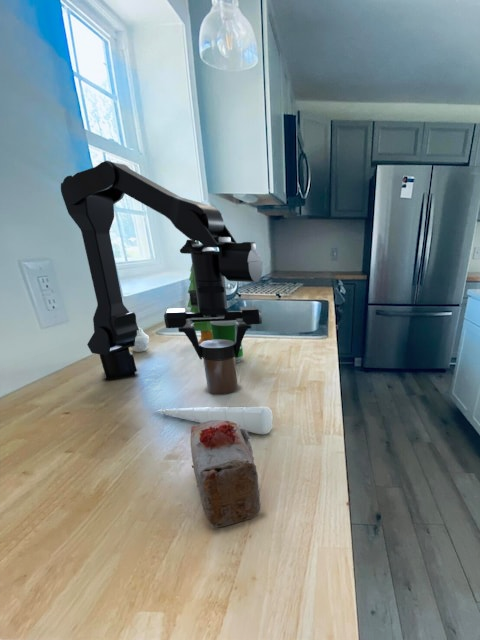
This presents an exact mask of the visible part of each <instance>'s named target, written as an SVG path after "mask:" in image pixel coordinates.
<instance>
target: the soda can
mask: <svg viewBox="0 0 480 640" xmlns="http://www.w3.org/2000/svg"><path fill="white" fill-rule="evenodd" d="M224 317H225V316H224ZM234 321H236V320H230V321H211V329H212V330H211V331H212V337H213V340H217V339H224V340H231V341H233V342H235V322H234ZM243 358H244V350H243V341H242V342H241V346H240V350H239V353H238V357H236V356H235V364H238V363H240V362H241V361H242V359H243Z"/></svg>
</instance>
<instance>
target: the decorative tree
mask: <svg viewBox="0 0 480 640" xmlns="http://www.w3.org/2000/svg"><path fill="white" fill-rule="evenodd" d="M196 243H198V244H200V242H199V241H196ZM188 280H189V281H190V282H189V287H188V290H187V294H189V290H196V287H195V280H194V273H193V266H192V265H191V267H190V275H189V278H188ZM186 307H187V308H190V311H189V313H193V312H199V310H198V307H192V306H191V301H190V298H188V303H187V306H186ZM193 323H194V327H195V331H196V332H200V339H199V340H198V342H199V345H200V343H202V342H204V341H208V340H213V337H212V329H211V321H207V322H193Z"/></svg>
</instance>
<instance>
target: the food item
mask: <svg viewBox="0 0 480 640" xmlns="http://www.w3.org/2000/svg"><path fill="white" fill-rule="evenodd" d="M239 426H240V425H239ZM250 439H251V437H250V435H249V432H247V431H246V430H245V429H239V428H238V426H237V424H236V423H234V422H230V421H225V420H211V421H207V422H203V423H201V422H199V423H196V424H194V425H193V424H192V425H191V427H190V451H191V458H192V459H191V462H192V465H191V468H192V469H193V474H194V478H195V481H196V487H197V488H198V494H199V498H200V502H201V505H202V509H203V511H204V514H205V516H206V519H207V520H208V522H209V524H210V525H211V527H212V528H219V527H220V528H221V527H227V526H231V525H233V524H236V523H240V522H242V521H246V520H252V519H255V518H256V517H258V516H259V514H260V512H261V502H260V501H261V500H260V497H261V494H260V489H259V475H258V472H257V466H256V465H255V461H254V460H255V457H254V451H253V447H252V444H251V441H250Z"/></svg>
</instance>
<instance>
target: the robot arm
mask: <svg viewBox="0 0 480 640" xmlns="http://www.w3.org/2000/svg"><path fill="white" fill-rule="evenodd" d="M60 192H61V196H62V200H63V201H64V205H65V208H66V210H67V213H68V215H69V216H70V218H71V219H72V220H73V222H74V223H75V224H76V225H77V227H78V229H79V230H80V232H81V236H82V241H83V245H84V250H85V254H86V259H87V264H88V268H89V272H90V276H91V280H92V285H93V291H94V295H95V299H96V303H97V306H96V309H95V311H94V314H93V317H92V321H93V333H92V335H91V337H90V338H89V340H88V342H87V345H86V346H87V347H88V349H89V351H90V352H91V354H95V355H99V357H100V362H101V365H102V369H103V373H104V380H106V381H109V380H116V379H123V378H125V379H126V378H131V377H136V376H137V375H136V372H137V371H138V370H137V365H136V361H135V358H134V353H133V352H131V351H130V348H131V347H133V346H135V337H137V330H139V328H138V327H139V326H138V323H137V314H136V313H135V312H134V311H131V312H130V311H129V310H128V308H127V307H126V306H125V304H124V302H123V297H122V291H121V285H120V281H119V276H118V271H117V266H116V260H115V255H114V249H113V244H112V239H111V234H110V230H111V228H112V225H113V222H114V219H115V204H117V203H118V202H120V201H122V200H123V198H124V196H125V195H126V196H128V197H130V198H131V199H134V200H135V201H137V202H139V203H141V204H143V205H144V206H146V207H148V208H149V209H152V210H153V211H155V212H157V213H159V214H160V215H162V216H164V217H165V218H167V219H168V220H169V221H170V222H171V224H172V225H173V226H174V228H176V229H177V230H178V231H179V232H180V233H181V234H183V235H184V236H185V237H186V238H188V239H186V241H185V243H184V244H183V246H182V247H181V248H180V249H179V252H180V254H184V255H185V254H186V255H187V254H188V255H190V258H191V266H193V273H194V280H195V287H196V290H189V289H188V290H189V293H188V294H189V299H190V301H191V306H192V307H198V310H199V312H193V313H190V312H187V311H186V310H187V309H186V308H183V307H181V308H180V307H179V308H167V309H166V311H164V314H163V317H164V318H163V320H164V325H165V328H166V329H177V330H178V332H179V333H184V334H185V336H186V338H187V339H188V341H189V342H190V343H191V344H192V347H193V348H194V351H195V352H196V355H197V356H198V358H199V360H203V357H202V356H201V350H200V345H199V339H198V335H197V331H195V327H194V323H193V322H207V321H230V320H236V321H234V322H235V352H236V355H235V356H236V357H238V353H239V350H240V346H241V342H242V343H243V339H244V338H245V335H246V332H247V330H249V329H252V325H261V324H263V320H262V318H263V317H262V311H261V310H260V309H259V308H258V307H256V305H245V306H243V305H242V306H238V310H229V308H228V299H227V290H226V280H227V281H229V282H242V283H258V282H260V280H261V278H262V275H263V261H262V259H261V256H260V255H261V254H260V253H259V251H258V250H257V244H256V242H255V241H243V242H237V241H236V240H235V238H234V237H233V235H232V234H231V232H230V230H229V229H228V227H227V226H226V224H225V223H224V218H223V216H222V212H221V211H220V210H219V209H218V208H216V207H214V206H212V205H208V204H205V203H202V202H198V201H196V200H192V199H188V198H185V197H182V196H179V194H176V193H174V192H172V191H170V190H169V189H167V188H165V187H163V186H161V185H160V184H158V183H156V182H154V181H152V180H150V179H149V178H147V177H145V176H143V175H142V174H140V173H138V172H136V171H135V170H133V169H131V168H130V167H129V166H128V165H126V164H124V163H120V162H115V161H113V160H112V161H111V160H104V161H101V162H100V163H98V164H97V165H96V166H93V167H91V168H88V169H85V170H82V171H79V172H77V173H75V174H74V175H67V176H66V177H64V179H63V181H62V182H61V183H60ZM196 241H199V244H198V243H196ZM215 248H218V250H216V249H215ZM224 316H225V317H224Z"/></svg>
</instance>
